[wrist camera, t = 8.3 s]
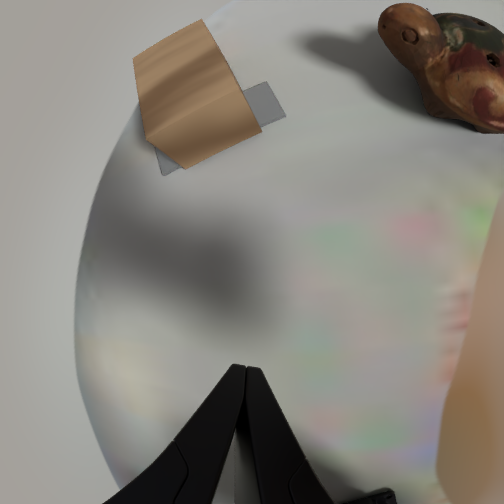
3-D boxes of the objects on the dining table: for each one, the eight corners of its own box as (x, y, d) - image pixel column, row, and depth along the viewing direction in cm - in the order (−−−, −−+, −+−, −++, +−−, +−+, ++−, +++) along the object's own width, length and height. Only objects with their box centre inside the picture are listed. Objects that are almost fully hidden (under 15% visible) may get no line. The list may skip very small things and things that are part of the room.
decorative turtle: (359, 42, 18) (367, -32, 10) (503, 79, 15) (538, 32, 7) (374, 139, 17) (406, 58, 9) (533, 172, 14) (590, 135, 6)
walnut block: (239, 89, 14) (201, 18, 16) (146, 139, 15) (132, 58, 17) (262, 131, 19) (224, 58, 20) (185, 169, 20) (163, 90, 22)
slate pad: (286, 116, 19) (285, 114, 18) (164, 176, 21) (162, 174, 21) (267, 83, 19) (266, 81, 19) (155, 140, 21) (153, 139, 21)
